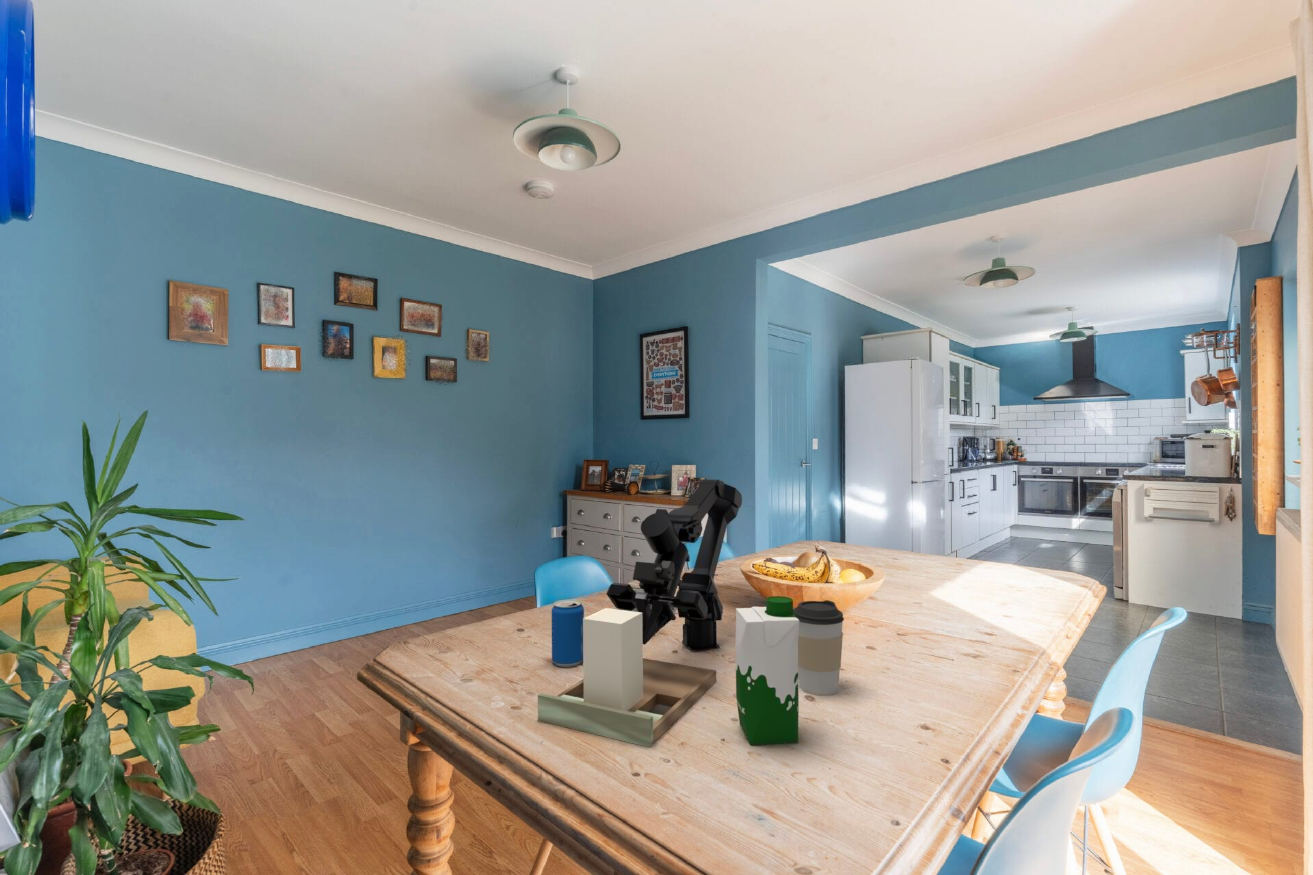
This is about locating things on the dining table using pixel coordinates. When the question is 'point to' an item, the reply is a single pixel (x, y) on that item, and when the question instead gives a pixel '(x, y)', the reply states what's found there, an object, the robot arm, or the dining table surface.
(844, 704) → the dining table surface
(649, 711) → the tray
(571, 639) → the beverage can
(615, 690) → the cream block
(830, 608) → the coffee cup
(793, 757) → the dining table surface
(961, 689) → the dining table surface
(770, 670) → the milk carton
